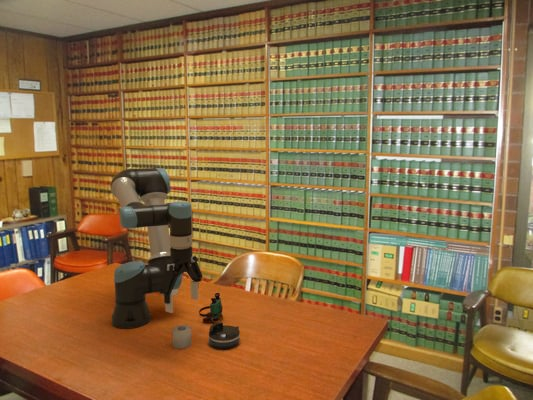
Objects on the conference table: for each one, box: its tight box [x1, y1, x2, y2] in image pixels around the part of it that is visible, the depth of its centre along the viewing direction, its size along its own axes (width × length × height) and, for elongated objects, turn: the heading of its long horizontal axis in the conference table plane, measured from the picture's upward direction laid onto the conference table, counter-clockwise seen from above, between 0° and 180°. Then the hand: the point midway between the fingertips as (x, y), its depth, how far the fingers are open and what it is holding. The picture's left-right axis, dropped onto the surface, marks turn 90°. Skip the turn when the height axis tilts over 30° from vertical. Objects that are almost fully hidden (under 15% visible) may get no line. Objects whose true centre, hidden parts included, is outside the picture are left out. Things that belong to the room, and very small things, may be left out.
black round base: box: [208, 321, 241, 351], centre depth 153 cm, size 11×11×6 cm
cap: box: [172, 324, 192, 350], centre depth 151 cm, size 6×6×6 cm
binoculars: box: [198, 292, 224, 324], centre depth 172 cm, size 9×11×10 cm
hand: (182, 305), depth 150 cm, fingers open, 13 cm apart
